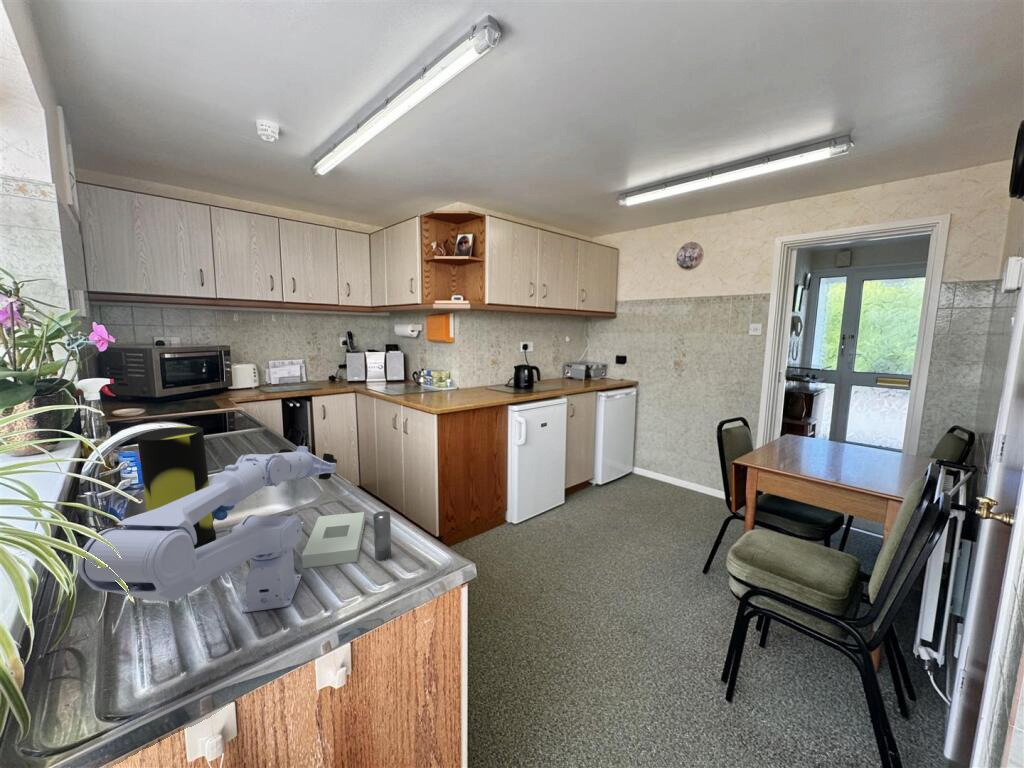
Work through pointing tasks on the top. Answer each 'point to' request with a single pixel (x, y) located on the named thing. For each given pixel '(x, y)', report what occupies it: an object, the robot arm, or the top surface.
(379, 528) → the peg
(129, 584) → the robot arm
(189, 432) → the container
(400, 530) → the top surface
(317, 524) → the hole block
